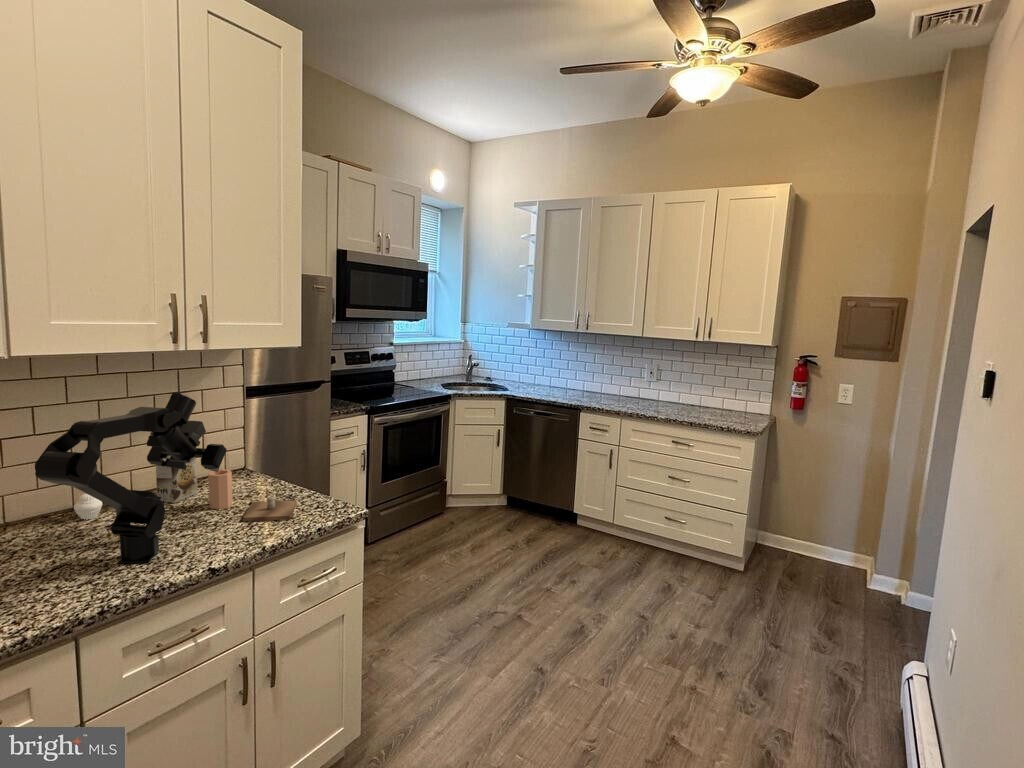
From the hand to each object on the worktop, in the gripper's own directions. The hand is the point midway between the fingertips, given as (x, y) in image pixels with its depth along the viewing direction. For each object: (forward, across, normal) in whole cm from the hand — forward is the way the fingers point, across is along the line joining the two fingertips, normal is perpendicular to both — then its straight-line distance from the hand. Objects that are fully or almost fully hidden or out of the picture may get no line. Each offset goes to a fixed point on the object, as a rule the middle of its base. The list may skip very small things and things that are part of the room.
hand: (201, 469), depth 151 cm
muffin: (+6, +28, +14) cm, 32 cm away
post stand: (+14, -16, +6) cm, 22 cm away
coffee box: (+19, +16, +1) cm, 24 cm away
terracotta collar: (+16, 0, +4) cm, 16 cm away
